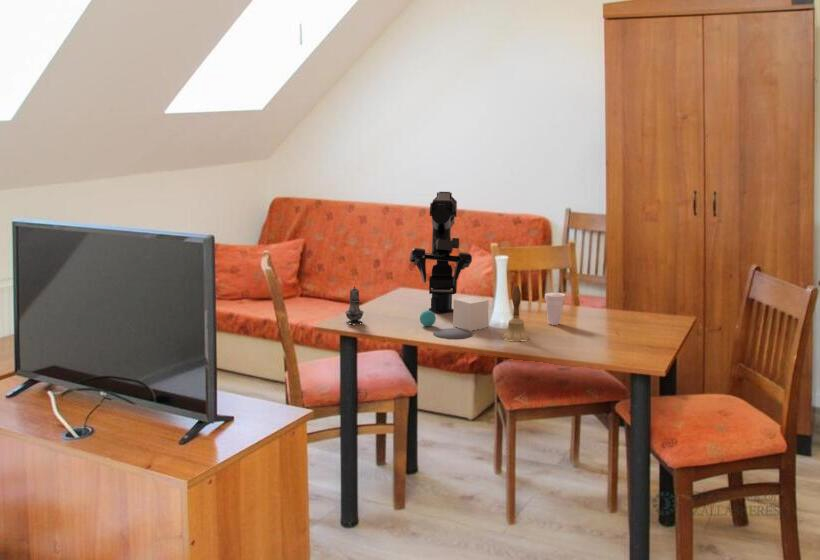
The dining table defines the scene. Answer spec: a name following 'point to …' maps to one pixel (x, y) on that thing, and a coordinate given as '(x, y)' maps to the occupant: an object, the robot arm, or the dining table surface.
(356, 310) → the salt shaker
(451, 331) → the disc
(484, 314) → the white block
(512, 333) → the hand bell
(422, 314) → the ball
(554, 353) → the dining table surface
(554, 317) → the smoothie
